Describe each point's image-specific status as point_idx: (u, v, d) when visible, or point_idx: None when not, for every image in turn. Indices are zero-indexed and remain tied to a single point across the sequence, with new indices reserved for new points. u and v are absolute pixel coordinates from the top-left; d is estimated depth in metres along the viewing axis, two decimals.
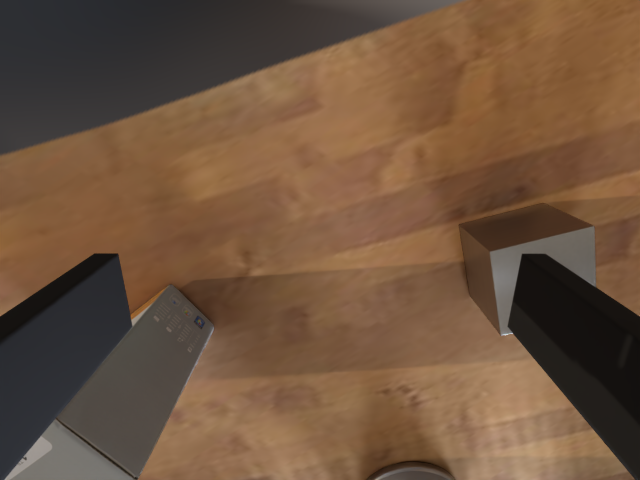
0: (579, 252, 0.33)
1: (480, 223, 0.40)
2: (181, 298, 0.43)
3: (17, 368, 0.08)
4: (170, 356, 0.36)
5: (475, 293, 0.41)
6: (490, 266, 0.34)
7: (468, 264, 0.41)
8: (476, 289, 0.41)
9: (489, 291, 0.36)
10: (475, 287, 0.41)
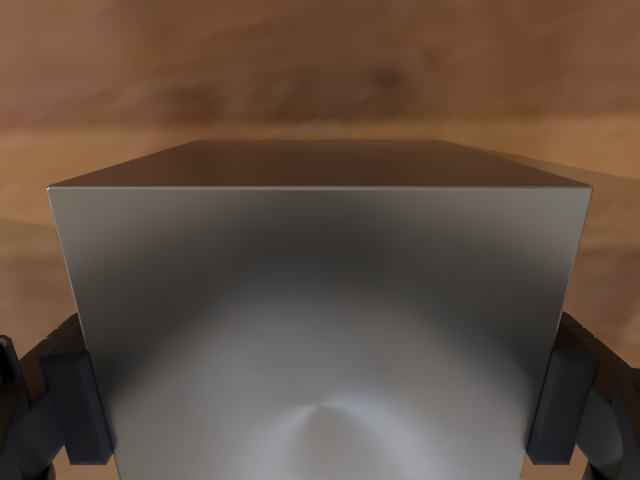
0: (491, 304, 0.07)
1: (242, 143, 0.13)
2: None
3: None
4: None
5: None
6: (69, 268, 0.07)
7: None
8: None
9: None
10: None
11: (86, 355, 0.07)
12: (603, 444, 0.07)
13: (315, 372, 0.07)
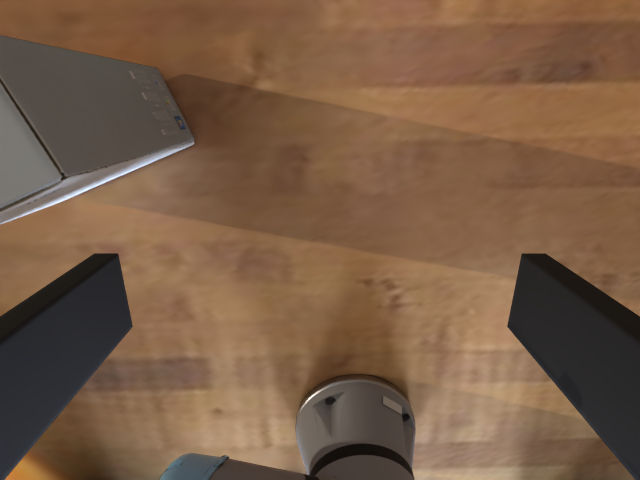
0: None
1: None
2: (165, 87, 0.34)
3: (17, 368, 0.08)
4: (140, 117, 0.28)
5: None
6: None
7: None
8: None
9: None
10: None
11: None
12: None
13: None
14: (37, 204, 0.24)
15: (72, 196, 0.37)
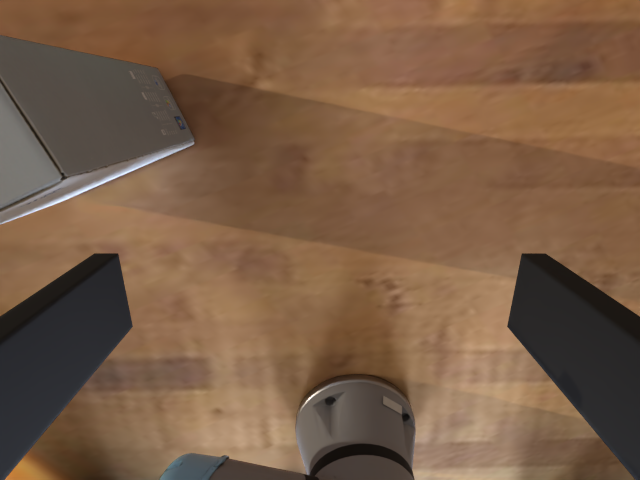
0: None
1: None
2: (165, 87, 0.34)
3: (17, 368, 0.08)
4: (140, 117, 0.28)
5: None
6: None
7: None
8: None
9: None
10: None
11: None
12: None
13: None
14: (37, 204, 0.24)
15: (72, 196, 0.37)
